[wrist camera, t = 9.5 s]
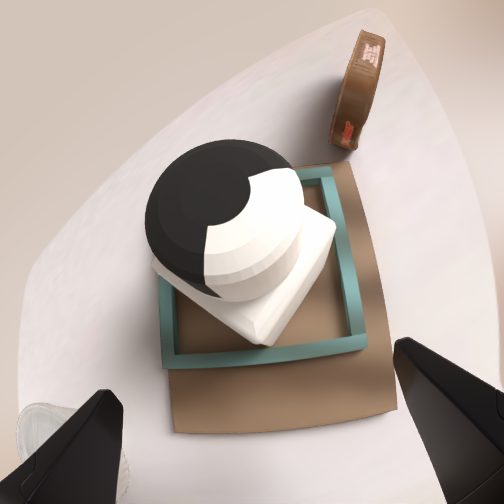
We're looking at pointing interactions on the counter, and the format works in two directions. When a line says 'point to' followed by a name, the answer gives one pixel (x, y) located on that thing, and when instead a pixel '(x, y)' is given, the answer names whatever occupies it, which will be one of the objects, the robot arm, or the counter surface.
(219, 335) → the socket board
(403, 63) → the counter surface
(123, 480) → the ramekin
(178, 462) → the counter surface
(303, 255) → the medicine bottle
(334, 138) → the tin
